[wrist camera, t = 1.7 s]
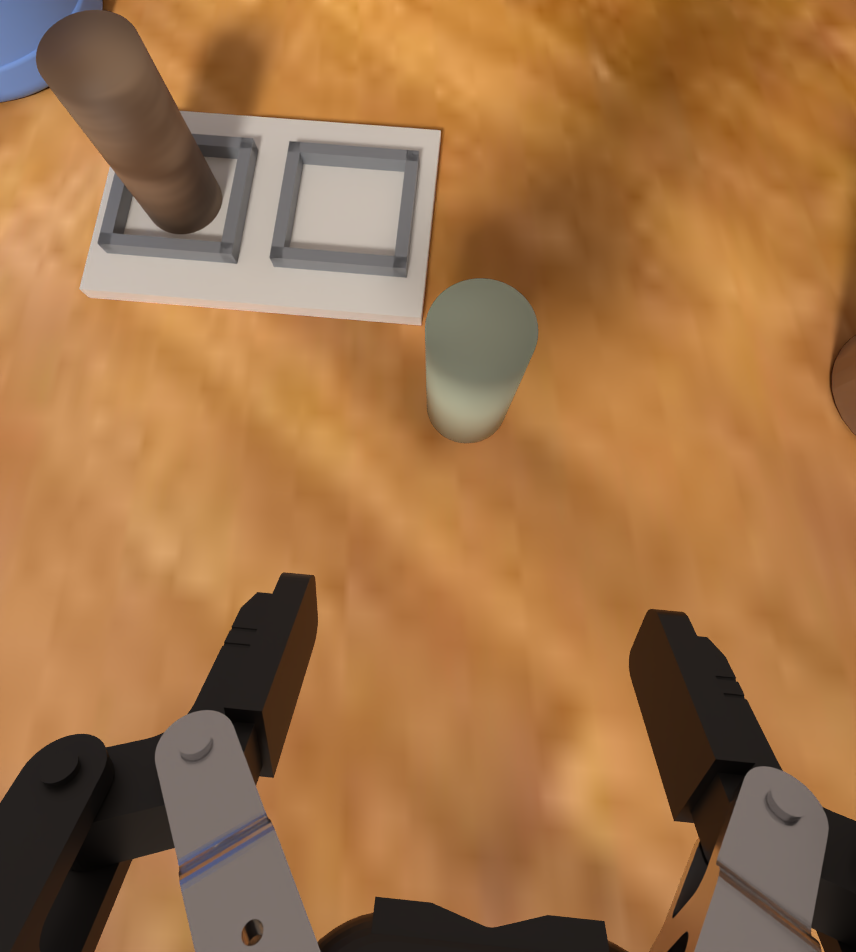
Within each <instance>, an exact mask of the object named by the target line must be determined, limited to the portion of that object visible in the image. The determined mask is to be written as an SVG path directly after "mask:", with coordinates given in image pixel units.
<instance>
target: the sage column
mask: <svg viewBox="0 0 856 952" xmlns="http://www.w3.org/2000/svg"><path fill="white" fill-rule="evenodd" d="M537 340H538V323H537V319H536V316H535V313H534V311H533V309H532V307H531V305H530V304H529V302H528V301H527V299H526V298H525V297H524V296H523V295H522V294H521V293H520V292H518V291H517V290H516V289H514V288H513V287H511V286H509V285H507V284H505V283H503V282H500V281H497V280H492V279H485V278H476V279H469V280H465V281H461V282H459V283H456V284H454V285H452V286H450V287H449V288H447V289H446V290H445V291H443V292H442V293H441V294H440V295H439V296H438V297H437V298H436V300H435V301H434V302H433V304H432V306H431V307H430V310H429V312H428V315H427V318H426V324H425V346H426V391H427V412H428V416H429V419H430V421H431V423H432V424H433V426H434V427H435V429H436V430H437V431H438V432H439V433H440V434H442V435H443V436H444V437H446V438H448V439H450V440H452V441H455V442H459V443H475V442H479V441H482V440H484V439H486V438H488V437H490V436H491V435H492V434H494V433H495V432H496V431H497V430H498V428H499V427H500V426H501V424H502V422H503V420H504V418H505V415H506V413H507V411H508V409H509V406H510V404H511V402H512V400H513V397H514V395H515V393H516V391H517V388H518V386H519V384H520V382H521V379H522V377H523V375H524V373H525V370H526V368H527V366H528V364H529V361H530V359H531V357H532V355H533V352H534V350H535V347H536V344H537Z"/></svg>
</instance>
